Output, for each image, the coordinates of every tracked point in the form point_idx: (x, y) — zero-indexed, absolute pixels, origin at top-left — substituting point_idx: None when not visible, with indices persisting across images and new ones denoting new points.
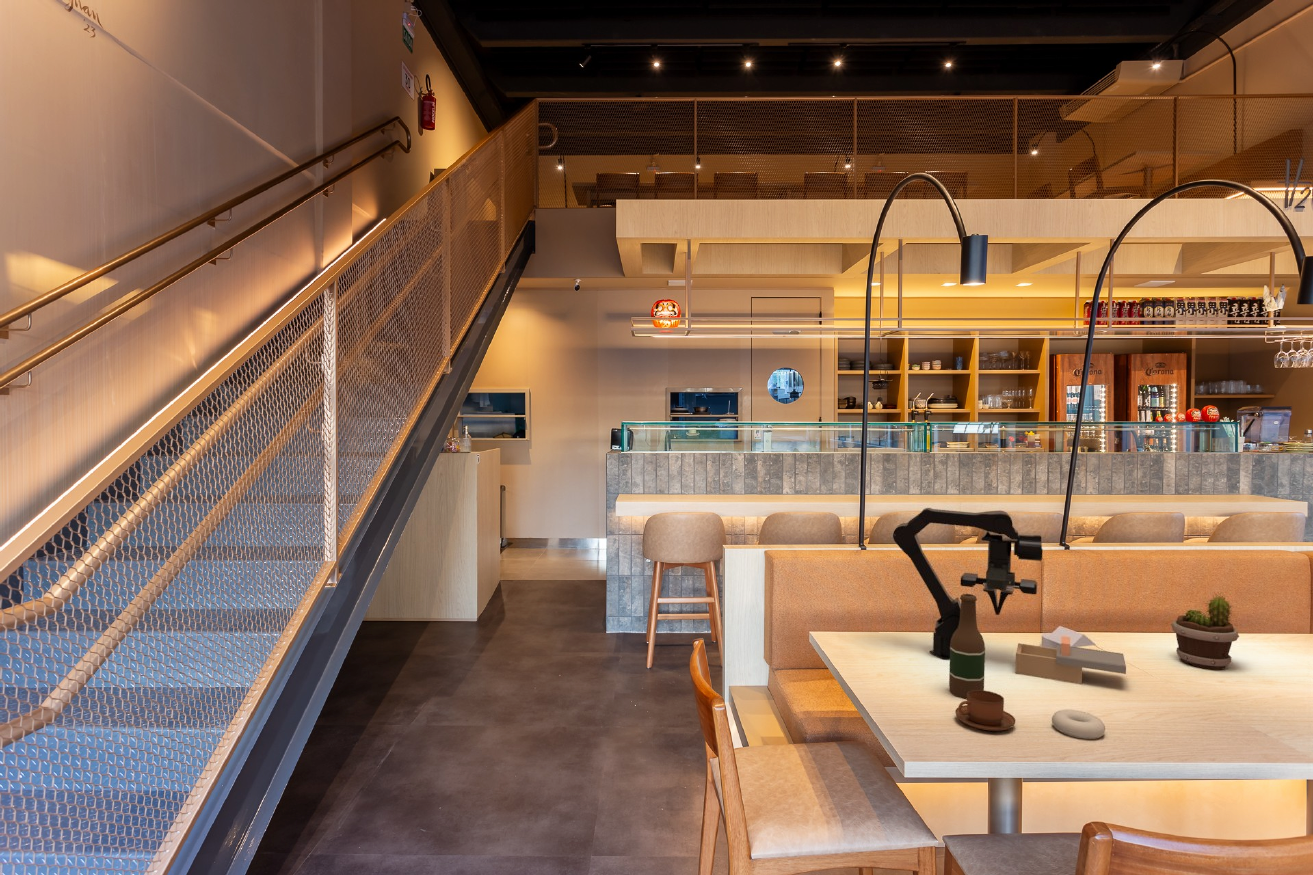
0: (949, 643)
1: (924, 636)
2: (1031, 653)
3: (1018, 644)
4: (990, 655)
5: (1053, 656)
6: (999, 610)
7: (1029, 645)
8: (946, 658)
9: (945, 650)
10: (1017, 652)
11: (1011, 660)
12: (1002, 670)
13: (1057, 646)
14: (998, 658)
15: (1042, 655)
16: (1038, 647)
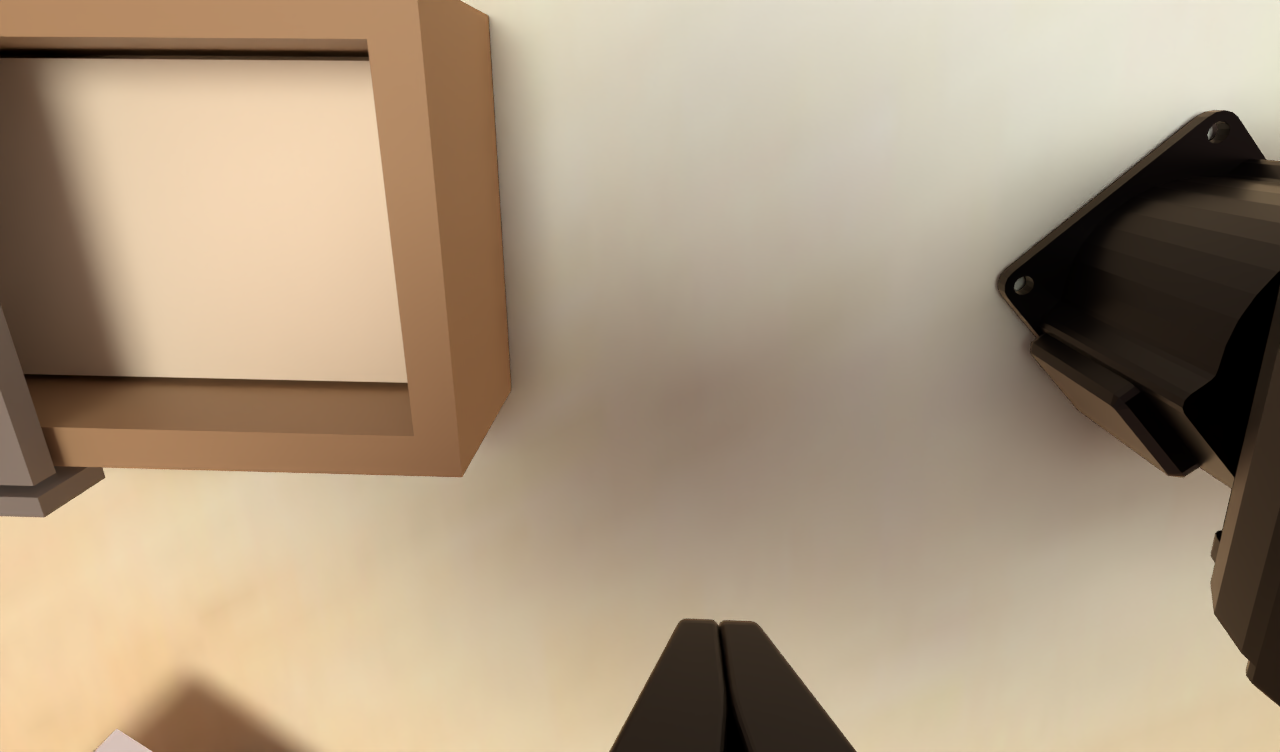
0: (1269, 206)
1: (1273, 727)
2: (352, 399)
3: (452, 425)
4: (742, 476)
5: (146, 392)
6: (671, 693)
7: (338, 444)
8: (1181, 131)
9: (1243, 183)
10: (405, 36)
11: (566, 421)
12: (615, 54)
13: (11, 437)
14: (673, 424)
15: (251, 394)
16: (244, 428)
